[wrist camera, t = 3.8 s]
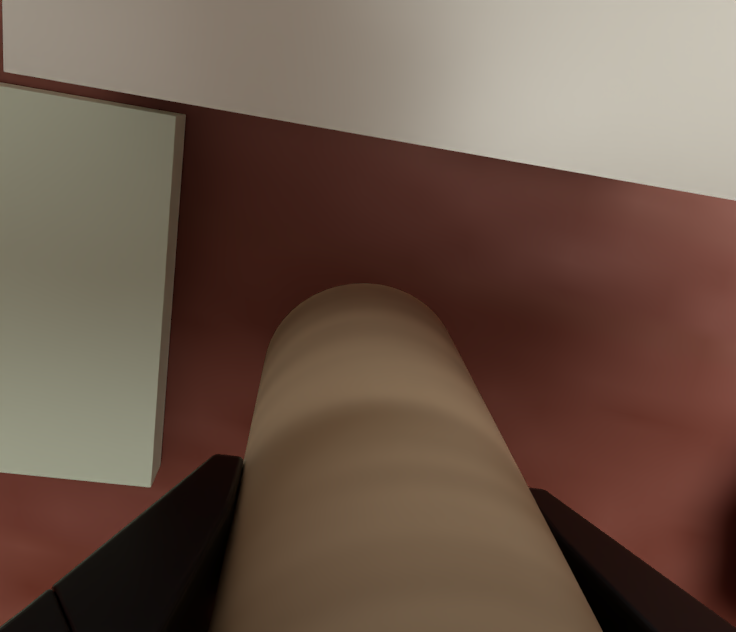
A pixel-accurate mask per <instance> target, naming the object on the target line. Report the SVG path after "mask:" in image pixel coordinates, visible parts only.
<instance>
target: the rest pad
mask: <svg viewBox="0 0 736 632" xmlns="http://www.w3.org/2000/svg"><path fill="white" fill-rule="evenodd" d="M185 122H186V114H180V113H174V112H169V111H163V110H157V109H151V108H146V107H140V106H134V105H128V104H123V103H117V102H111V101H105V100H100V99H94V98H88V97H82V96H77V95H71V94H65V93H59V92H54V91H48V90H42V89H36V88H31V87H25V86H19V85H13V84H8V83H2V82H0V472H3V473H13V474H23V475H32V476H42V477H52V478H62V479H72V480H82V481H92V482H102V483H111V484H121V485H131V486H141V487H151V486H152V484H153V481H154V479H155V477H156V474H157V472H158V470H159V467H160V465H161V451H162V438H163V424H164V410H165V396H166V383H167V369H168V355H169V342H170V328H171V314H172V300H173V287H174V273H175V259H176V245H177V232H178V218H179V204H180V191H181V177H182V163H183V149H184V136H185Z"/></svg>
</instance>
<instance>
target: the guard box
mask: <svg viewBox="0 0 736 632" xmlns="http://www.w3.org/2000/svg"><path fill="white" fill-rule="evenodd" d="M2 14H3V66H4V72H8V73H14V74H20V75H25V76H31V77H37V78H42V79H48V80H54V81H59V82H65V83H71V84H76V85H82V86H88V87H94V88H99V89H105V90H111V91H116V92H122V93H128V94H133V95H139V96H145V97H150V98H156V99H162V100H167V101H173V102H179V103H184V104H190V105H196V106H201V107H207V108H213V109H218V110H224V111H230V112H235V113H241V114H247V115H253V116H258V117H264V118H270V119H275V120H281V121H287V122H292V123H298V124H304V125H309V126H315V127H321V128H326V129H332V130H338V131H343V132H349V133H355V134H360V135H366V136H372V137H377V138H383V139H389V140H394V141H400V142H406V143H412V144H417V145H423V146H429V147H434V148H440V149H446V150H451V151H457V152H463V153H468V154H474V155H480V156H485V157H491V158H497V159H502V160H508V161H514V162H519V163H525V164H531V165H536V166H542V167H548V168H553V169H559V170H565V171H571V172H576V173H582V174H588V175H593V176H599V177H605V178H610V179H616V180H622V181H627V182H633V183H639V184H644V185H650V186H656V187H661V188H667V189H673V190H678V191H684V192H690V193H695V194H701V195H707V196H712V197H718V198H724V199H730V200H735V201H736V0H2Z"/></svg>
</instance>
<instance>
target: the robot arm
mask: <svg viewBox="0 0 736 632" xmlns="http://www.w3.org/2000/svg"><path fill="white" fill-rule="evenodd" d="M242 470H243V459H242V458H241V457H239V456H230V455H220V454H216V455H213V456H212V457H211V458H209V459H208V460H207V461H206V462H204V463H203V464H202V465H201V466H199V467H198V468H197V469H196V470H195V471H193V472H192V473H191V474H190V475H188V476H187V477H186V478H185V479H183V480H182V481H181V482H180V483H179V484H177V485H176V486H175V487H174V488H172V489H171V490H170V491H169V492H167V493H166V494H165V495H164V496H163V497H161V498H160V499H159V500H158V501H156V502H155V503H154V504H153V505H151V506H150V507H149V508H148V509H147V510H145V511H144V512H143V513H142V514H140V515H139V516H138V517H137V518H135V519H134V520H133V521H132V522H130V523H129V524H128V525H127V526H126V527H124V528H123V529H122V530H121V531H119V532H118V533H117V534H116V535H114V536H113V537H112V538H111V539H110V540H108V541H107V542H106V543H105V544H103V545H102V546H101V547H100V548H98V549H97V550H96V551H95V552H94V553H92V554H91V555H90V556H89V557H87V558H86V559H85V560H84V561H82V562H81V563H80V564H79V565H78V566H76V567H75V568H74V569H73V570H71V571H70V572H69V573H68V574H66V575H65V576H64V577H63V578H62V579H60V580H59V581H58V582H57V583H55V584H54V585H53V587H52V590H51V589H49V590H46V591H45V592H44V593H43V594H41V595H40V596H39V597H38V598H37V599H35V600H34V601H33V602H32V603H30V604H29V605H28V606H27V607H25V608H24V609H23V610H22V611H20V612H19V613H18V614H16V615H15V616H14V617H13V618H11V619H10V620H9V621H7V622H6V623H5V624H3V625H2V626H1V627H0V632H208V630H209V626H210V621H211V616H212V611H213V606H214V602H215V597H216V592H217V587H218V582H219V578H220V573H221V568H222V563H223V558H224V553H225V549H226V544H227V540H228V536H229V532H230V527H231V523H232V518H233V513H234V509H235V504H236V499H237V494H238V489H239V484H240V480H241V475H242ZM529 490H530V492H531V494H532V495H533V497H534V499H535V501H536V503H537V505H538V507H539V509H540V511H541V513H542V515H543V517H544V519H545V521H546V523H547V525H548V526H549V528H550V530H551V532H552V534H553V536H554V538H555V540H556V542H557V544H558V546H559V548H560V550H561V552H562V554H563V555H564V557H565V559H566V561H567V563H568V565H569V567H570V569H571V571H572V573H573V575H574V577H575V579H576V581H577V583H578V585H579V586H580V588H581V590H582V592H583V594H584V596H585V598H586V600H587V602H588V604H589V606H590V608H591V610H592V612H593V614H594V615H595V617H596V619H597V621H598V623H599V625H600V627H601V629H602V631H603V632H736V628H735V627H734V626H733V625H731V624H730V623H728V622H727V621H726V620H724V619H723V618H721V617H720V616H719V615H717V614H716V613H715V612H713V611H712V610H710V609H709V608H708V607H706V606H705V605H703V604H702V603H701V602H699V601H698V600H697V599H695V598H694V597H692V596H691V595H690V594H688V593H687V592H685V591H684V590H683V589H681V588H680V587H679V586H677V585H676V584H674V583H673V582H672V581H670V580H669V579H667V578H666V577H665V576H663V575H662V574H661V573H659V572H658V571H656V570H655V569H654V568H652V567H651V566H649V565H648V564H647V563H645V562H644V561H643V560H641V559H640V558H638V557H637V556H636V555H634V554H633V553H631V552H630V551H629V550H627V549H626V548H625V547H623V546H622V545H620V544H619V543H618V542H616V541H615V540H614V539H612V538H611V537H609V536H608V535H607V534H605V533H604V532H602V531H601V530H600V529H598V528H597V527H596V526H594V525H593V524H591V523H590V522H589V521H587V520H586V519H584V518H583V517H582V516H580V515H579V514H578V513H576V512H575V511H573V510H572V509H571V508H569V507H568V506H566V505H565V504H564V503H562V502H561V501H560V500H558V499H557V498H555V497H554V496H553V495H551V494H550V493H549V492H547V491H545V490H543V489H536V488H529Z"/></svg>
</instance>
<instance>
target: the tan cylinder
mask: <svg viewBox="0 0 736 632" xmlns="http://www.w3.org/2000/svg"><path fill="white" fill-rule="evenodd" d="M208 632H603V631H602V629H601V627H600V625H599V623H598V621H597V619H596V617H595V615H594V614H593V612H592V610H591V608H590V606H589V604H588V602H587V600H586V598H585V596H584V594H583V592H582V590H581V588H580V586H579V585H578V583H577V581H576V579H575V577H574V575H573V573H572V571H571V569H570V567H569V565H568V563H567V561H566V559H565V557H564V555H563V554H562V552H561V550H560V548H559V546H558V544H557V542H556V540H555V538H554V536H553V534H552V532H551V530H550V528H549V526H548V525H547V523H546V521H545V519H544V517H543V515H542V513H541V511H540V509H539V507H538V505H537V503H536V501H535V499H534V497H533V495H532V494H531V492H530V490H529V488H528V486H527V484H526V482H525V480H524V478H523V476H522V474H521V472H520V470H519V468H518V466H517V465H516V463H515V461H514V459H513V457H512V455H511V453H510V451H509V449H508V447H507V445H506V443H505V441H504V439H503V437H502V435H501V434H500V432H499V430H498V428H497V426H496V424H495V422H494V420H493V418H492V416H491V414H490V412H489V410H488V408H487V406H486V405H485V403H484V401H483V399H482V397H481V395H480V393H479V391H478V389H477V387H476V385H475V383H474V381H473V379H472V377H471V375H470V374H469V372H468V370H467V368H466V366H465V364H464V362H463V360H462V358H461V356H460V354H459V352H458V350H457V348H456V346H455V344H454V343H453V341H452V339H451V337H450V335H449V333H448V331H447V329H446V328H445V326H444V325H443V323H442V321H441V320H440V319H439V318H438V317H437V315H436V314H435V313H434V312H433V311H432V310H431V309H430V308H429V307H428V306H427V305H425V304H424V303H423V302H421V301H420V300H418V299H417V298H415V297H414V296H412V295H410V294H408V293H406V292H404V291H401V290H398V289H396V288H393V287H389V286H384V285H380V284H370V283H356V284H347V285H341V286H337V287H333V288H330V289H327V290H324V291H322V292H320V293H317V294H315V295H313V296H311V297H310V298H308V299H307V300H305V301H303V302H302V303H301V304H299V305H298V306H297V307H296V308H294V309H293V310H292V311H291V312H290V313H289V314H288V315H287V316H286V317H285V318H284V319H283V321H282V322H281V324H280V325H279V326H278V328H277V329H276V331H275V333H274V335H273V337H272V339H271V340H270V343H269V346H268V349H267V352H266V356H265V361H264V366H263V371H262V376H261V380H260V385H259V390H258V395H257V400H256V404H255V409H254V414H253V419H252V424H251V428H250V433H249V438H248V443H247V448H246V453H245V457H244V462H243V470H242V475H241V480H240V484H239V489H238V494H237V499H236V504H235V509H234V513H233V518H232V523H231V527H230V532H229V536H228V540H227V544H226V549H225V553H224V558H223V563H222V568H221V573H220V578H219V582H218V587H217V592H216V597H215V602H214V606H213V611H212V616H211V621H210V626H209V630H208Z"/></svg>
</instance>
